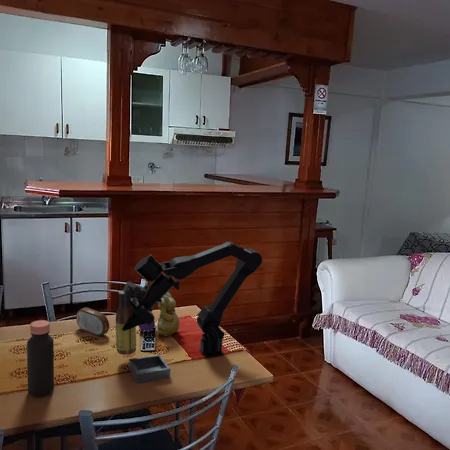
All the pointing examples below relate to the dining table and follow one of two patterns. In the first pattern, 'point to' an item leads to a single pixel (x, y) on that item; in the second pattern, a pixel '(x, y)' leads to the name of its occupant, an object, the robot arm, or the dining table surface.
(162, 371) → the grey square tray
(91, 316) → the wooden speaker
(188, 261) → the robot arm
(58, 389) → the dining table surface
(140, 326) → the kendama
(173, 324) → the decorative figurine
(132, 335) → the sauce bottle
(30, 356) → the dark grey water bottle
